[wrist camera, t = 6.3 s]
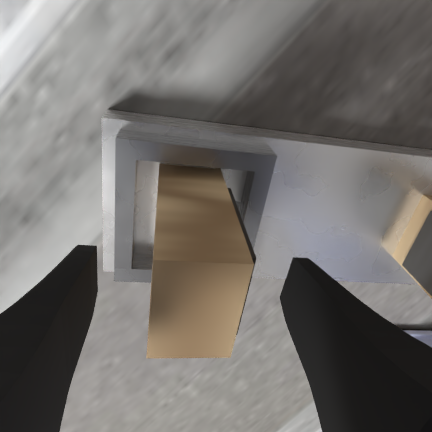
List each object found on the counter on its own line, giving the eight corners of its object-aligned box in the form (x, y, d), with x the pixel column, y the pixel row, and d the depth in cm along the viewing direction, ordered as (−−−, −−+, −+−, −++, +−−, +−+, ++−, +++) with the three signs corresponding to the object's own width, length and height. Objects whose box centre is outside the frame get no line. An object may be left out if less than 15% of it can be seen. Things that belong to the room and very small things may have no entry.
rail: (482, 156, 19) (527, 175, 16) (418, 269, 23) (447, 298, 20) (107, 109, 15) (96, 125, 13) (107, 254, 19) (99, 286, 17)
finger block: (154, 238, 17) (146, 358, 11) (159, 163, 15) (153, 259, 9) (214, 241, 18) (239, 357, 12) (227, 170, 16) (264, 264, 10)
